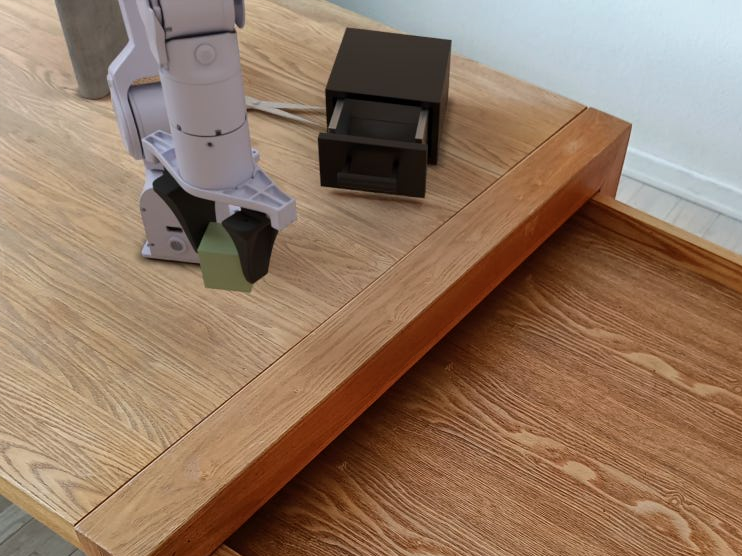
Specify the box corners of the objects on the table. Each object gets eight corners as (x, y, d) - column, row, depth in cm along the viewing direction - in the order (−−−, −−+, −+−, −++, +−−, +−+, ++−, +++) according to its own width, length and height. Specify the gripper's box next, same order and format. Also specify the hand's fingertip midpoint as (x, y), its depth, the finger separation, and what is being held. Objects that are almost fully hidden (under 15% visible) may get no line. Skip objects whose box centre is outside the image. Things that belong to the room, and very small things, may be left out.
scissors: (183, 66, 109) (342, 92, 108) (185, 73, 109) (342, 98, 109) (149, 110, 102) (318, 138, 101) (151, 116, 103) (318, 144, 102)
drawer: (420, 222, 94) (422, 174, 89) (313, 210, 93) (309, 160, 89) (436, 132, 105) (439, 85, 100) (340, 121, 104) (338, 73, 100)
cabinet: (436, 165, 102) (440, 102, 96) (328, 152, 102) (324, 89, 96) (448, 100, 111) (451, 39, 105) (348, 88, 111) (346, 26, 105)
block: (250, 293, 76) (245, 255, 73) (204, 288, 76) (197, 250, 73) (261, 264, 79) (256, 226, 76) (216, 259, 79) (209, 221, 76)
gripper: (318, 130, 66) (327, 274, 77) (176, 62, 70) (203, 208, 81) (252, 171, 62) (271, 317, 73) (107, 96, 66) (145, 245, 77)
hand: (232, 262), depth 76 cm, fingers closed on block, 5 cm apart
